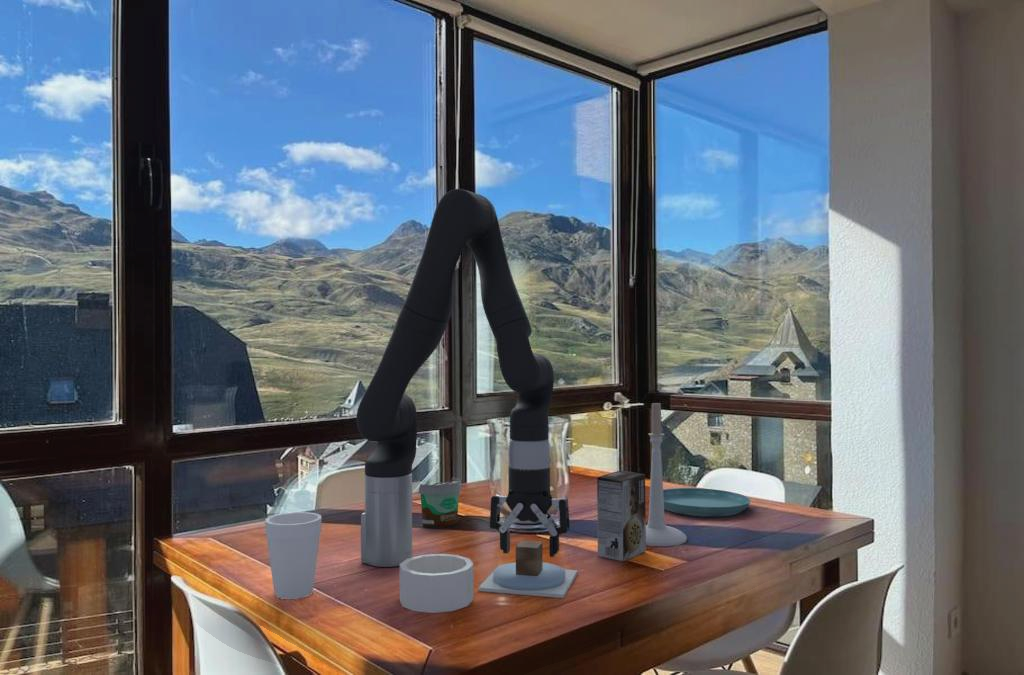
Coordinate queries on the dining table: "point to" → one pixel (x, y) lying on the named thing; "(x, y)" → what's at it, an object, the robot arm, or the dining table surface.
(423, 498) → the food container
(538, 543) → the lid
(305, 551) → the foam cup
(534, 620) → the dining table surface
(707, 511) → the saucer
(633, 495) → the coffee box
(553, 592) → the mat
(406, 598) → the bowl
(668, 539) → the candlestick
